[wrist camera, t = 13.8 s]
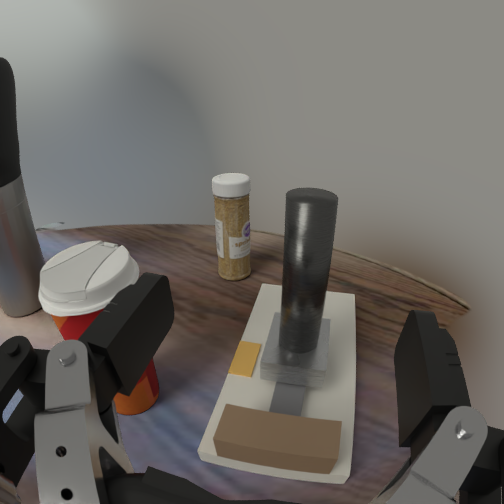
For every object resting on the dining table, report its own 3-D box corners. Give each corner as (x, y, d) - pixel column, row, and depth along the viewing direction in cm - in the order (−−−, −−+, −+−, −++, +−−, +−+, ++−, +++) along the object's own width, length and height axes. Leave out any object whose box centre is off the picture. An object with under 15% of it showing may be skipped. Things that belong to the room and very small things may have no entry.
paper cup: (123, 352, 30) (84, 231, 23) (185, 377, 28) (157, 245, 21) (78, 403, 24) (12, 281, 17) (142, 440, 22) (78, 313, 15)
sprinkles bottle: (247, 283, 41) (246, 182, 35) (214, 280, 42) (206, 181, 35) (253, 265, 45) (253, 172, 39) (222, 262, 46) (217, 171, 39)
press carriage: (274, 329, 29) (279, 179, 22) (327, 336, 28) (350, 185, 21) (260, 379, 24) (261, 209, 17) (321, 387, 23) (355, 219, 16)
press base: (262, 296, 39) (262, 261, 36) (351, 307, 37) (359, 272, 34) (201, 460, 20) (190, 432, 18) (343, 484, 18) (361, 460, 16)
